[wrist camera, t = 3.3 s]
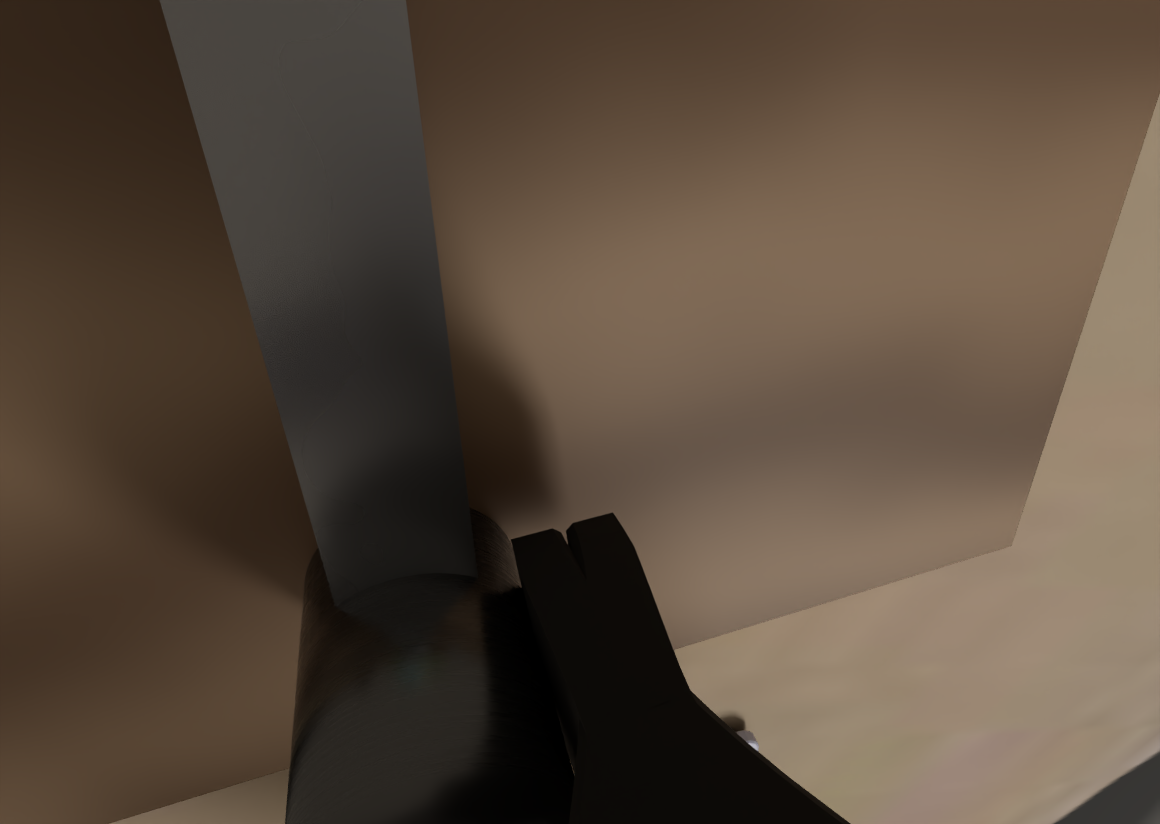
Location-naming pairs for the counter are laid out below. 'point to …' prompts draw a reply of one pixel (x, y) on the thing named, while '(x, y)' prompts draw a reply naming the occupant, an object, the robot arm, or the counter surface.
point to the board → (544, 332)
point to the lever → (369, 424)
